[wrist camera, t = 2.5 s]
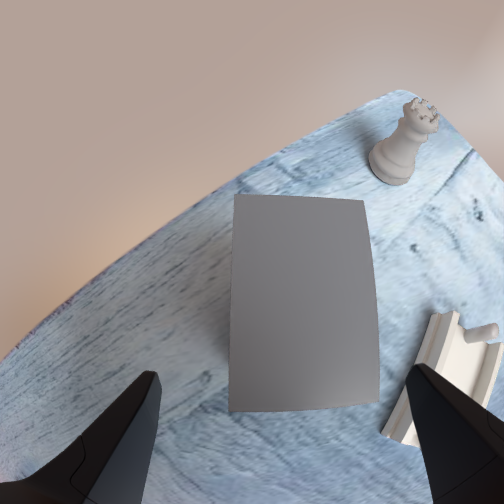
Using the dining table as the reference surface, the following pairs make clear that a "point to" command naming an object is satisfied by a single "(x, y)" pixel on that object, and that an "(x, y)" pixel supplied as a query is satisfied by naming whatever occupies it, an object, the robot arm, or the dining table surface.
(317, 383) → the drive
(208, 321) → the dining table surface
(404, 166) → the rook chess piece
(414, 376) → the robot arm
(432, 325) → the tray
